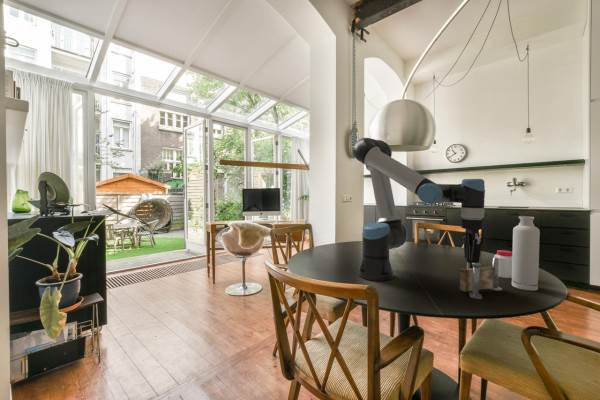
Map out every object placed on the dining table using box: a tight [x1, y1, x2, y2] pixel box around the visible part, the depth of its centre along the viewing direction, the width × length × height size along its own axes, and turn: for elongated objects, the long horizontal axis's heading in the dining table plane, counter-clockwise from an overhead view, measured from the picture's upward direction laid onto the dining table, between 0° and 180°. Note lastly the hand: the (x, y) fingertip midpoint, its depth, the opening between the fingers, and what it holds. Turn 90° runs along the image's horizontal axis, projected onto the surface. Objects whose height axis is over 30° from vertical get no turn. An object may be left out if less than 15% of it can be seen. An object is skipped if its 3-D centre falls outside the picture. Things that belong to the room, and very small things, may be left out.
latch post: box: [468, 262, 483, 300], centre depth 98 cm, size 4×4×12 cm
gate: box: [459, 265, 494, 293], centre depth 103 cm, size 15×2×8 cm, turn 106°
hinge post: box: [488, 257, 503, 292], centre depth 105 cm, size 4×4×12 cm
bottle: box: [511, 215, 541, 292], centre depth 107 cm, size 8×8×28 cm
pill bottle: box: [493, 249, 512, 279], centre depth 122 cm, size 8×8×11 cm
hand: (471, 278), depth 106 cm, fingers closed
